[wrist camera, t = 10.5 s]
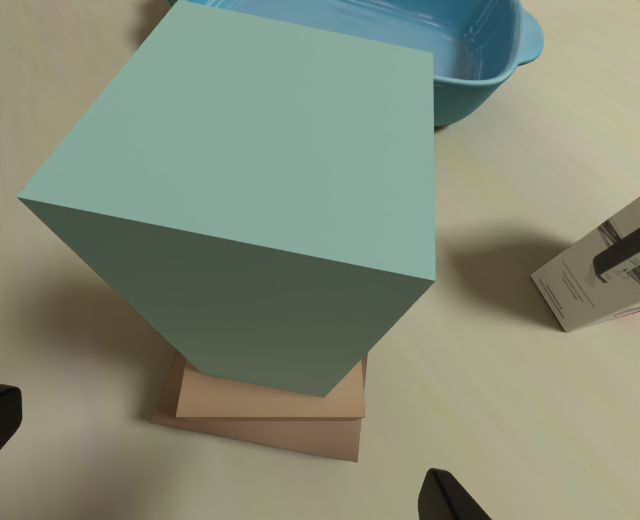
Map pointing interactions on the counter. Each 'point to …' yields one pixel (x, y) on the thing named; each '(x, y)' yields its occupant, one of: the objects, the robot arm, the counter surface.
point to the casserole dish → (425, 38)
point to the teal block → (255, 192)
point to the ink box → (596, 273)
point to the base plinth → (265, 424)
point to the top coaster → (266, 400)
